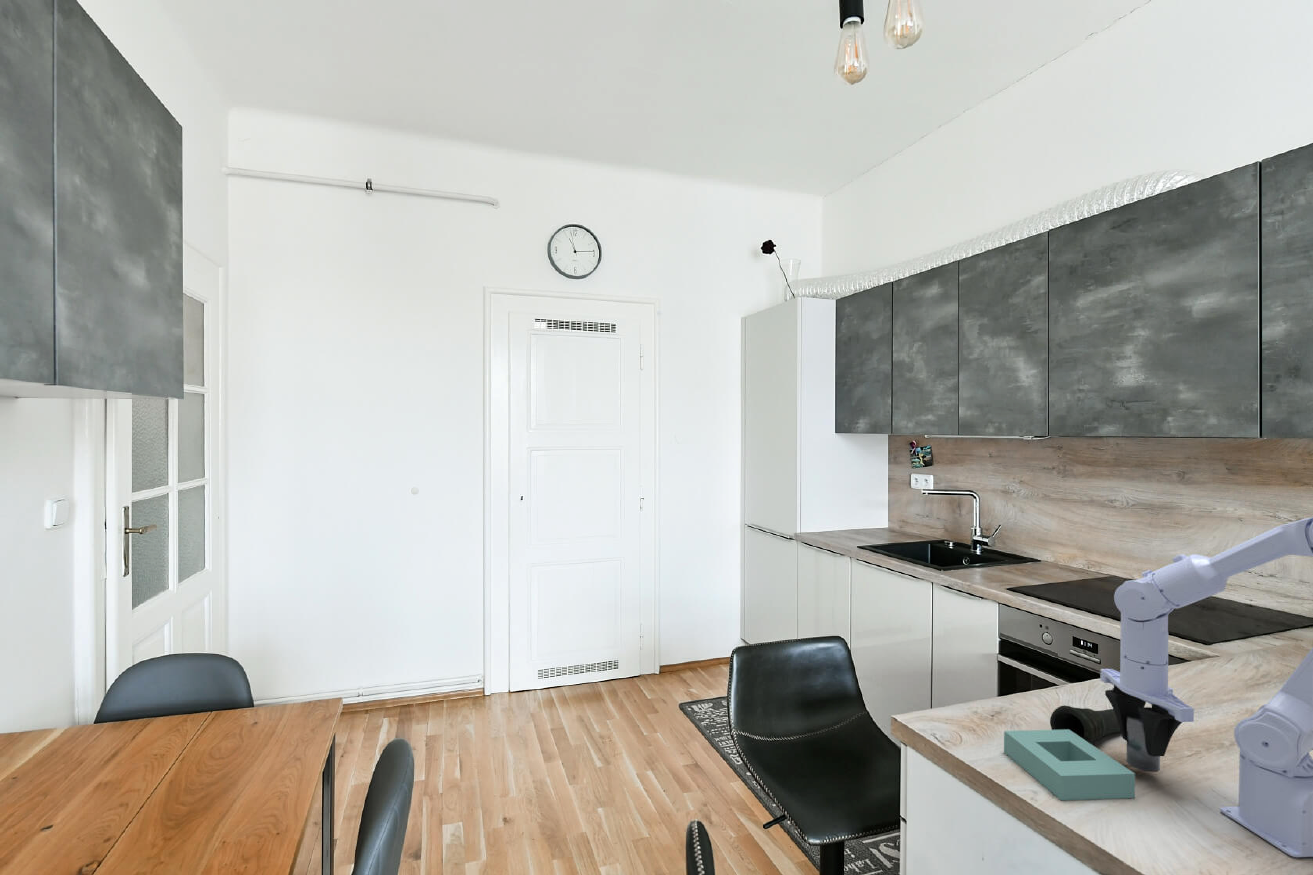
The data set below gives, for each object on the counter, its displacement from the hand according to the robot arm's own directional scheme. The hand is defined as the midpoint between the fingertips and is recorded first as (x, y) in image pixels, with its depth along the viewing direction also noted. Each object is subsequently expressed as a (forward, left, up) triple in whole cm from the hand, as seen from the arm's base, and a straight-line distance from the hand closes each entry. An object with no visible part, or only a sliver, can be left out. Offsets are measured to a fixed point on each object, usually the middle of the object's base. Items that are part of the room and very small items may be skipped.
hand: (1143, 747), depth 93 cm
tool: (+15, -7, -5) cm, 17 cm away
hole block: (+1, +12, -4) cm, 12 cm away
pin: (0, 0, -3) cm, 3 cm away
